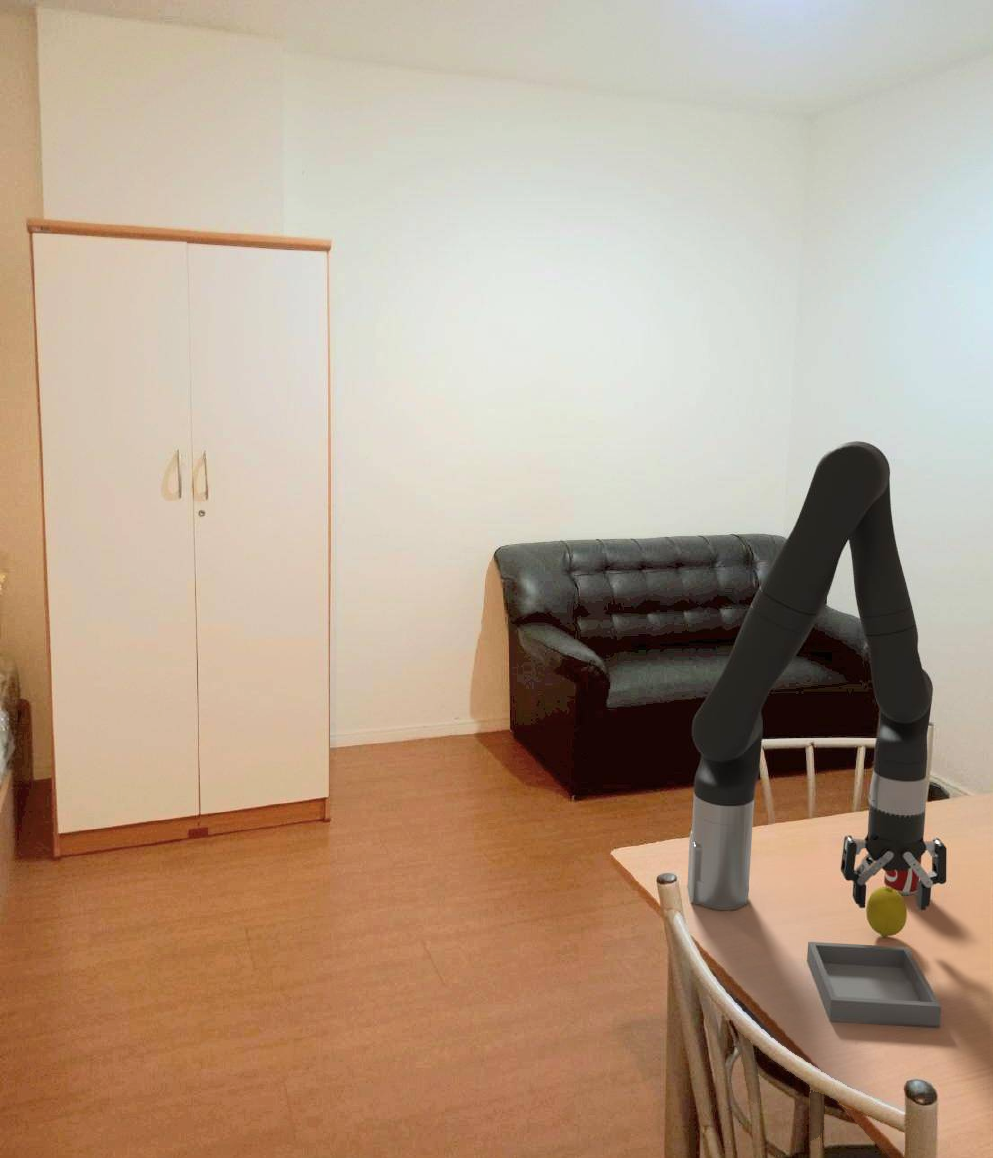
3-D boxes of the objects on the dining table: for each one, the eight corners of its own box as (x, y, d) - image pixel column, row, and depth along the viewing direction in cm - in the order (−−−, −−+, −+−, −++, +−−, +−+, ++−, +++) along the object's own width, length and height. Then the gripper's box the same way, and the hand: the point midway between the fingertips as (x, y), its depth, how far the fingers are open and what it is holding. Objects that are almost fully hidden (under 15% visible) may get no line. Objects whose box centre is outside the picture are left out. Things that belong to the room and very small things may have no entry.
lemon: (886, 950, 143) (890, 899, 142) (856, 932, 148) (860, 882, 146) (912, 941, 146) (917, 891, 144) (882, 923, 150) (886, 874, 149)
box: (829, 1020, 127) (831, 999, 127) (806, 961, 140) (808, 941, 140) (939, 1027, 126) (941, 1006, 125) (906, 966, 139) (907, 947, 139)
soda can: (921, 897, 158) (928, 827, 156) (886, 893, 159) (893, 824, 157) (914, 881, 163) (921, 813, 161) (881, 878, 164) (887, 810, 162)
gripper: (853, 811, 140) (847, 918, 143) (958, 814, 138) (950, 921, 141) (840, 791, 147) (834, 892, 150) (939, 793, 146) (932, 895, 149)
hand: (890, 906), depth 146 cm, fingers open, 8 cm apart
